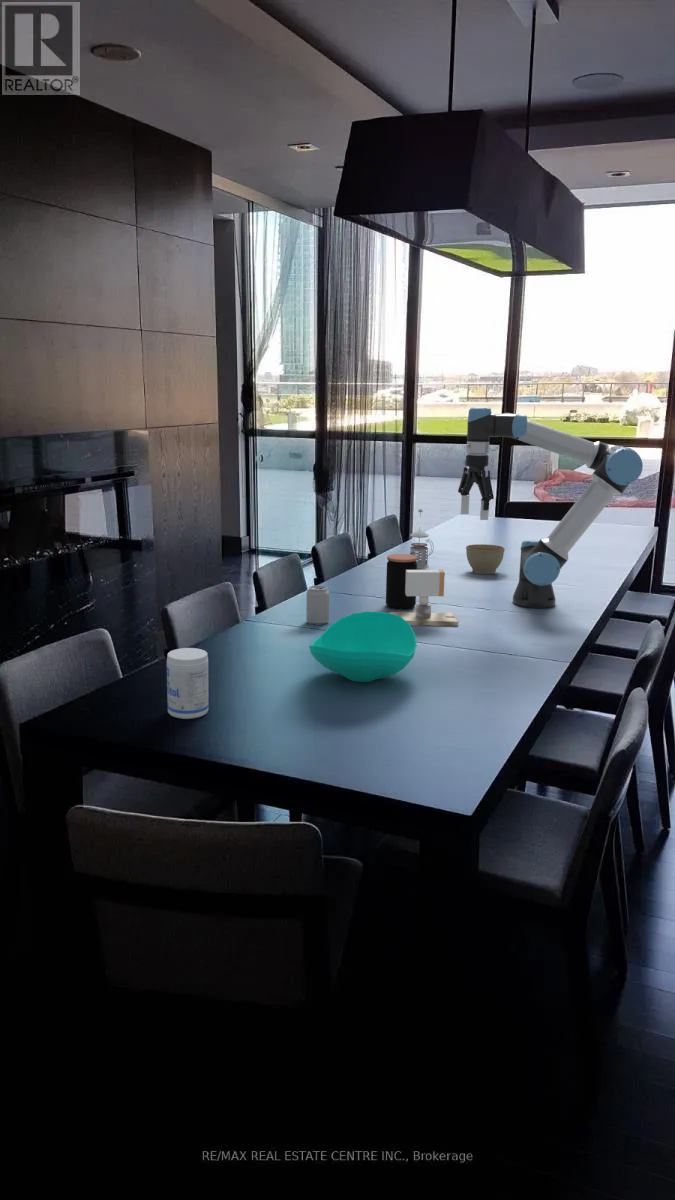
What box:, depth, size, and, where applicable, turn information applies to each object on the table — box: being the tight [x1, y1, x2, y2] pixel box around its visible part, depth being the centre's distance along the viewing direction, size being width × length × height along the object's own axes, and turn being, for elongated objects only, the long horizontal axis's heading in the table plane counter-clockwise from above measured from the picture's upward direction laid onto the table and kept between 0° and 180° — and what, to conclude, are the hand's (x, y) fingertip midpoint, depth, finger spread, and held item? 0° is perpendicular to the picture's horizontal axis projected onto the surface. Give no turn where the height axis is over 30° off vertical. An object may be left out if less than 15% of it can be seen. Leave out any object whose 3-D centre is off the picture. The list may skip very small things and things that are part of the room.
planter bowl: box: [465, 543, 505, 575], centre depth 364 cm, size 16×16×11 cm
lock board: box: [388, 603, 459, 627], centre depth 286 cm, size 22×11×6 cm, turn 90°
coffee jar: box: [385, 553, 418, 611], centre depth 303 cm, size 11×11×18 cm
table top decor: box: [309, 611, 418, 683], centre depth 228 cm, size 40×28×13 cm
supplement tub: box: [166, 647, 209, 720], centre depth 201 cm, size 10×10×15 cm
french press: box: [409, 508, 434, 569], centre depth 373 cm, size 10×12×25 cm
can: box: [305, 585, 330, 626], centre depth 282 cm, size 8×8×12 cm
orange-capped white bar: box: [405, 569, 446, 605], centre depth 284 cm, size 4×12×11 cm, turn 93°
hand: (474, 517), depth 295 cm, fingers open, 13 cm apart
